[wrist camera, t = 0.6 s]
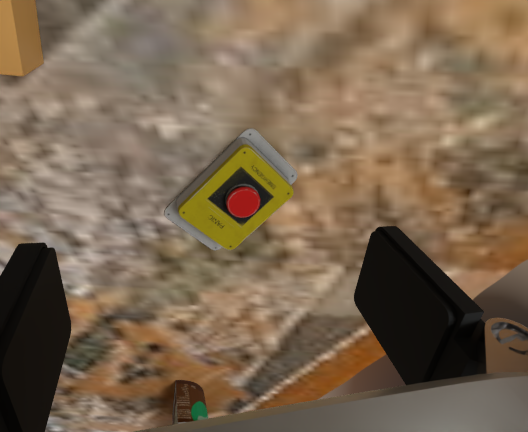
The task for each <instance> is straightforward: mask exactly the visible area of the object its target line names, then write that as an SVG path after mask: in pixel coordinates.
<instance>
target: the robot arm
mask: <svg viewBox="0 0 528 432" xmlns="http://www.w3.org/2000/svg"><path fill="white" fill-rule="evenodd" d="M354 301H355V304H356V306H357V308H358V309H359V311H360V313H361V314H362V316H363V317H364V319H365V321H366V322H367V324H368V325H369V327H370V328H371V330H372V332H373V333H374V335H375V336H376V338H377V340H378V341H379V343H380V344H381V346H382V347H383V349H384V351H385V352H386V354H387V355H388V357H389V359H390V360H391V362H392V363H393V365H394V366H395V368H396V370H397V371H398V373H399V374H400V376H401V377H402V379H403V381H404V382H405V384H406V385H405V386H399V387H393V388H386V389H380V390H374V391H368V392H362V393H356V394H350V395H344V396H338V397H332V398H326V399H320V400H314V401H308V402H302V403H296V404H290V405H284V406H279V407H273V408H267V409H261V410H255V411H249V412H243V413H238V414H232V415H226V416H220V417H215V418H209V419H203V420H197V421H192V422H186V423H180V424H175V425H169V426H163V427H157V428H152V429H146V430H140V431H135V432H528V328H526V327H525V326H523V325H521V324H519V323H517V322H514V321H512V320H508V319H504V318H493V319H489V320H488V321H487V322H486V323H484V322H483V321H482V320H481V317H482V315H483V313H484V311H483V310H482V309H481V308H480V307H479V306H478V305H477V304H476V303H475V302H474V301H473V300H472V299H471V298H470V297H469V296H468V295H467V294H466V293H465V292H464V291H462V290H461V289H460V288H459V287H458V286H457V285H456V284H455V283H454V282H453V281H452V280H451V279H450V278H449V277H448V276H447V275H446V274H445V273H444V272H443V271H442V270H441V269H440V268H439V267H438V266H437V265H436V264H435V263H434V262H433V261H432V260H431V259H430V258H429V257H428V256H427V255H426V254H425V253H424V252H423V251H422V250H420V249H419V248H418V247H417V246H416V245H415V244H414V243H413V242H412V241H411V240H410V239H409V238H408V237H407V236H406V235H405V234H404V233H403V232H402V231H401V230H400V229H399V228H398V227H396V226H386V227H378V228H377V229H376V230H375V231H374V232H372V233H371V236H370V239H369V243H368V246H367V250H366V254H365V257H364V261H363V264H362V268H361V272H360V275H359V279H358V282H357V286H356V290H355V293H354ZM70 334H71V320H70V316H69V311H68V307H67V302H66V297H65V293H64V288H63V284H62V279H61V275H60V270H59V265H58V261H57V256H56V252H55V249H54V248H47V245H46V244H45V243H25V244H19V245H18V246H17V248H16V249H15V251H14V253H13V255H12V256H11V258H10V260H9V262H8V263H7V265H6V267H5V269H4V270H3V272H2V274H1V276H0V432H45V429H46V425H47V421H48V417H49V414H50V410H51V406H52V402H53V399H54V395H55V391H56V387H57V383H58V380H59V376H60V372H61V368H62V365H63V361H64V357H65V353H66V350H67V346H68V342H69V338H70Z"/></svg>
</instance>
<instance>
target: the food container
mask: <svg viewBox="0 0 528 432" xmlns="http://www.w3.org/2000/svg"><path fill="white" fill-rule="evenodd" d="M203 419H208V414H207V409H206V403H205V397H204V392H203V389H202V388H201V387H200V386H199V385H198V384H196V383H194V382H191V381H185V380H176V384H175V394H174V405H173V425H175V424H180V423H186V422H192V421H197V420H203Z"/></svg>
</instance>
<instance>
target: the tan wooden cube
mask: <svg viewBox="0 0 528 432" xmlns="http://www.w3.org/2000/svg"><path fill="white" fill-rule="evenodd" d="M42 64H44V62H43V54H42V47H41V40H40V32H39V25H38V18H37V11H36V3H35V0H0V74H4V75H14V76H25V75H26V74H28V73H29V72H31V71H33V70H34V69H36V68H37V67H39V66H40V65H42Z"/></svg>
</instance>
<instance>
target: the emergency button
mask: <svg viewBox="0 0 528 432" xmlns="http://www.w3.org/2000/svg"><path fill="white" fill-rule="evenodd" d="M296 179H297V172H296V170H295V169H294V168H293V167H292V166H291V165H290V164H289V163H288V162H287V161H286V160H285V159H284V158H283V157H282V156H281V155H280V154H279V153H278V152H277V151H276V150H275V149H274V148H273V147H272V146H271V145H270V144H269V143H268V142H267V141H266V140H265V139H264V138H263V137H262V136H261V135H260V134H259V133H258V132H257V131H256V130H254V129H253V128H251V129H247V130H245V131H244V132H242V133H241V134H240V135H239V136H238V137H237V138H236V139H235V140H234V141H233V142H232V143H231V144H230V145H229V146H228V147H227V148H226V149H225V150H224V151H223V152H222V153H221V154H220V155H219V156H218V157H217V158H216V159H215V160H214V161H213V162H212V163H211V164H210V165H209V166H208V167H207V168H206V169H205V170H204V171H203V172H202V173H201V174H200V175H199V176H198V177H197V178H196V179H195V180H194V181H193V182H192V183H191V184H190V185H189V186H188V187H187V188H186V189H185V190H184V191H183V192H182V193H181V194H180V195H179V196H178V197H177V198H176V199H175V200H174V201H173V202H172V203H171V204H169V205H168V206H167V208H166V209H165V216H166V217H167V219H169V220H170V221H172V222H173V223H175V224H176V225H177V226H179V227H180V228H182V229H183V230H185V231H186V232H187V233H189V234H190V235H192V236H193V237H195V238H196V239H197V240H199V241H200V242H202V243H203V244H204V245H206V246H207V247H209V248H210V249H212V250H219V249H221V248H222V247H223V248H225V249H227V250H233V249H234V248H236V247H237V246H238V245H239V244H240V243H241V242H242V241H243V240H245V239H246V238H247V237H248V236H249V235H250V234H251V233H252V232H253V231H255V230H256V229H257V228H258V227H259V226H260V225H261V224H262V223H263V222H264V221H266V220H267V219H268V218H269V217H270V216H271V215H272V214H273V213H274V212H276V211H277V210H278V209H279V208H280V207H281V206H282V205H283V204H284V203H285V202H287V201H288V200H289V199H290V198H291V197H292V195H293V188H292V186H291V184H292V183H294V181H295V180H296Z"/></svg>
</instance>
